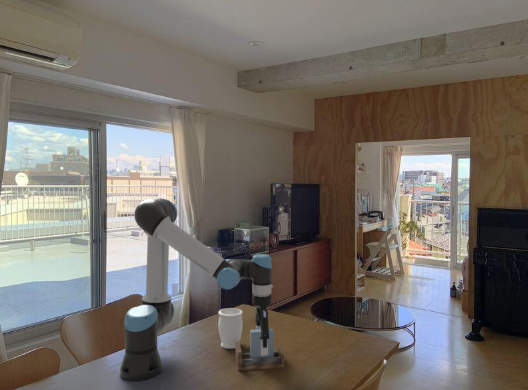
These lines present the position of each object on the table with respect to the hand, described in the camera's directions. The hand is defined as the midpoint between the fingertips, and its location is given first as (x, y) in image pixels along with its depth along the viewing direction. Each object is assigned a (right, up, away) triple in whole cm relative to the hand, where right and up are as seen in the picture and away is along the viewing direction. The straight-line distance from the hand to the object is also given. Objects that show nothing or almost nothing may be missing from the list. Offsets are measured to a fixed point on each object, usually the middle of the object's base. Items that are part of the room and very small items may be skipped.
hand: (261, 348), depth 156 cm
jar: (-14, -6, +17) cm, 23 cm away
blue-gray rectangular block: (0, -5, 0) cm, 5 cm away
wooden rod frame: (-1, -6, 0) cm, 6 cm away
